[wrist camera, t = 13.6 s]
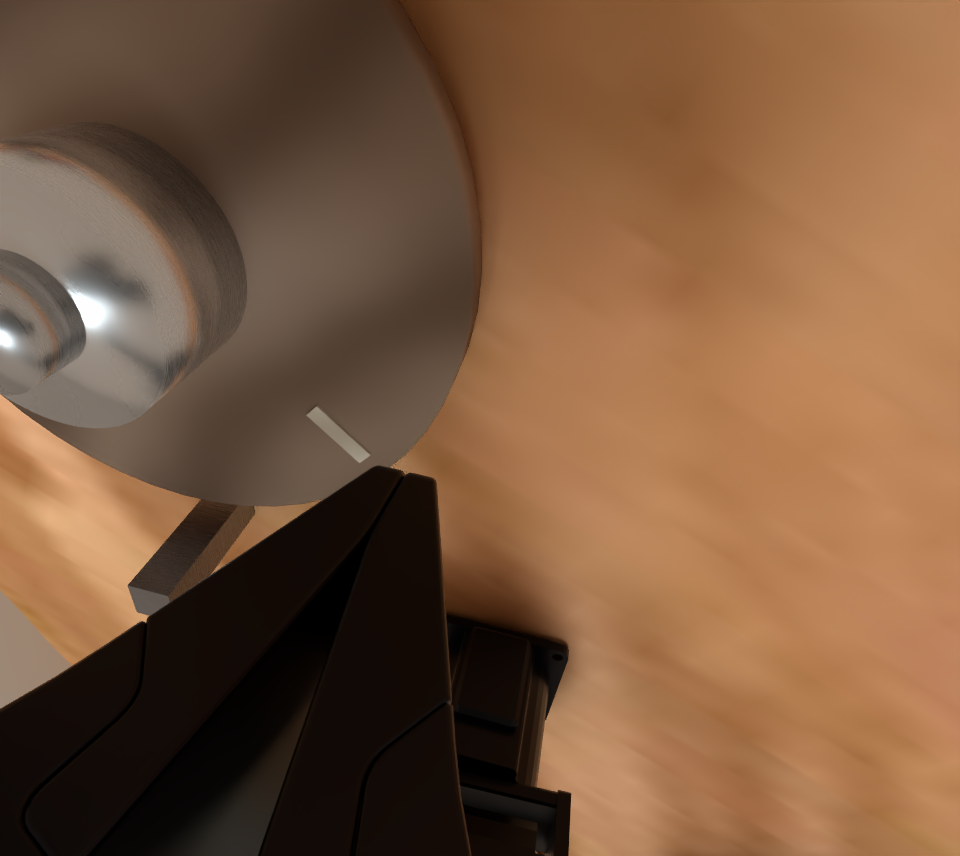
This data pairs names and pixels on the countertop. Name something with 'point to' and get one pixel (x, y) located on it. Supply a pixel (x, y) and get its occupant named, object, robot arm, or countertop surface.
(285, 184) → the turntable
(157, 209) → the aluminium cover
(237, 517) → the post
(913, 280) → the countertop surface
